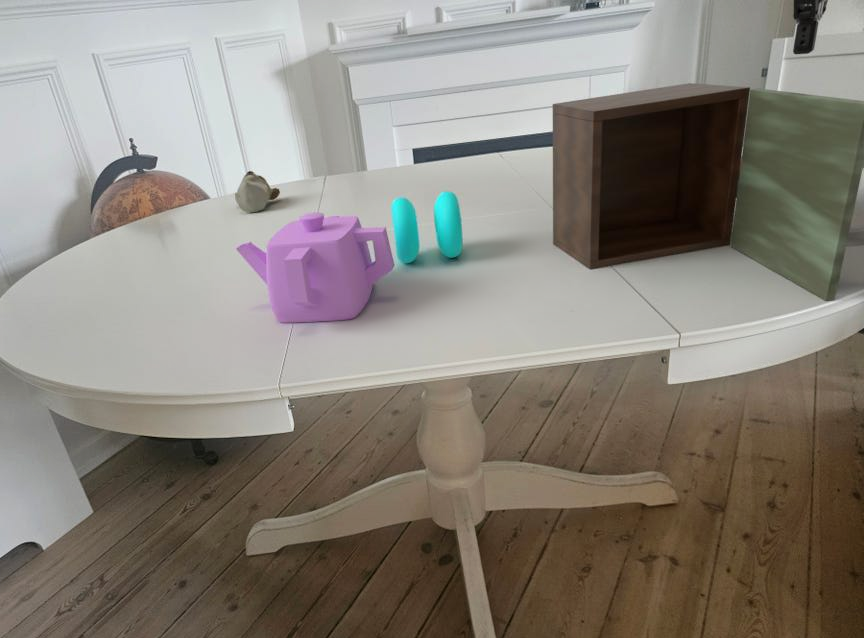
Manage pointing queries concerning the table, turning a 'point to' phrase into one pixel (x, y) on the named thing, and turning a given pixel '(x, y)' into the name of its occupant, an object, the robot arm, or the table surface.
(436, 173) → the table surface
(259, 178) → the ceramic sculpture
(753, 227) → the cupboard door
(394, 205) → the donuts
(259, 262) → the teakettle
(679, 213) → the cupboard
